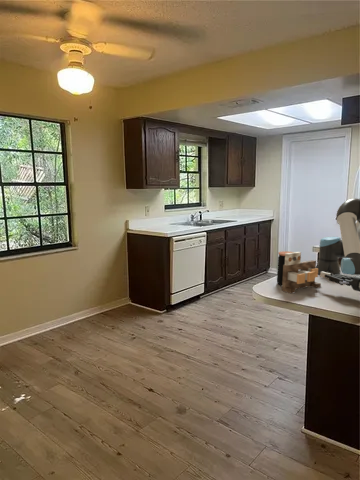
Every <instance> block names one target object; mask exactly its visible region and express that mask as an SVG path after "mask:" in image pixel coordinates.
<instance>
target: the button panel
mask: <svg viewBox="0 0 360 480" xmlns="http://www.w3.org/2000/svg"><path fill="white" fill-rule="evenodd" d="M292 252H293V253H285V265H283V281H282V285H281V291H283V292H285V293H288V294H294V293H296V290H299V289H303V288H308V287H313V288H316V289H317V288H321V286H322V283H321V282H316V280H315V281H311V282H307V280H305V283H301V284H297V282H294V281H291V280H288V272H290V271H291V272H296V273H298V270H305V271H308V268H313V269H314V268H316V266H317V260H314V259H313V260H305V261H302V260H301V259H302V252H301V251H292Z"/></svg>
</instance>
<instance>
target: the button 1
mask: <svg viewBox="0 0 360 480" xmlns="http://www.w3.org/2000/svg"><path fill="white" fill-rule="evenodd" d="M288 280H291V281H294V282H297V284H301V283H305V274H304V273H302V274H300V273H296V272H288Z"/></svg>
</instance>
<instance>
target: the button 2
mask: <svg viewBox="0 0 360 480" xmlns="http://www.w3.org/2000/svg"><path fill="white" fill-rule="evenodd" d="M308 271H309V272H313V271H314V272H315V278H318V277H319V274H318V268H314V269H313V268H308Z"/></svg>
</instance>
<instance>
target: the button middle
mask: <svg viewBox="0 0 360 480" xmlns="http://www.w3.org/2000/svg"><path fill="white" fill-rule="evenodd" d="M298 273H300V274H302V273H304V274H305V280H307V282H311V281H315V282H316V277H315V272H314V271H313V272H309V271H305V270H298Z"/></svg>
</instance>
